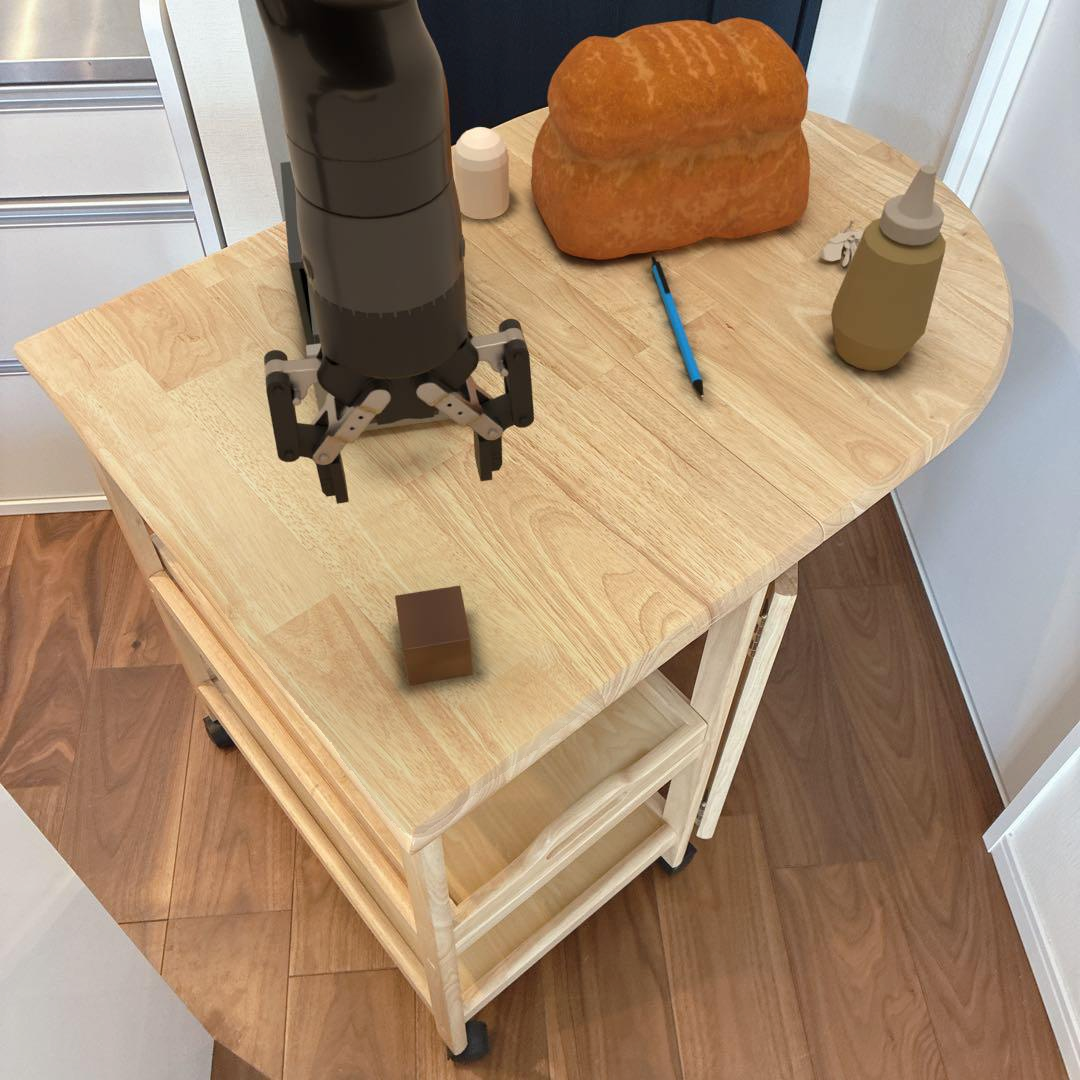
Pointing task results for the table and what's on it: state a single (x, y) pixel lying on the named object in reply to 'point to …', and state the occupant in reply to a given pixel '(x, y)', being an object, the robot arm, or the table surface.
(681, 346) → the pen
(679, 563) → the table surface
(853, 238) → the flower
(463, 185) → the white domed cylinder
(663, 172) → the bread
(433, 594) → the block
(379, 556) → the table surface
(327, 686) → the table surface
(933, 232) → the squeeze bottle
